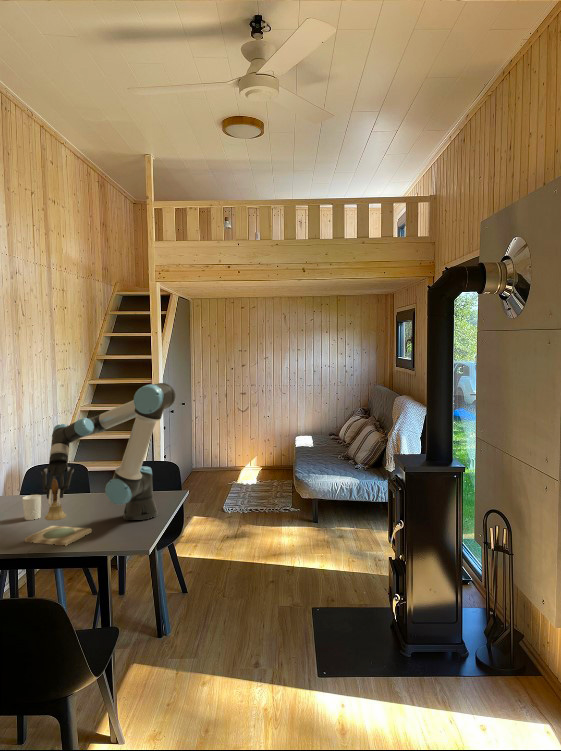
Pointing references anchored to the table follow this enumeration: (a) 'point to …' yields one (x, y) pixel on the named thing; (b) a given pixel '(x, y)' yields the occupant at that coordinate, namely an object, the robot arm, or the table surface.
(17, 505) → the table surface
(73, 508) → the table surface
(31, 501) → the white cup
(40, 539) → the bell board
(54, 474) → the robot arm
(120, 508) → the table surface
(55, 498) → the hand bell
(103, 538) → the table surface
